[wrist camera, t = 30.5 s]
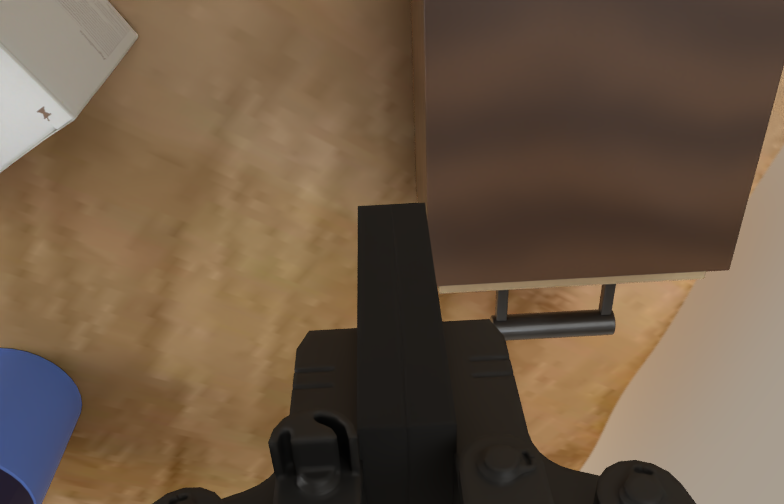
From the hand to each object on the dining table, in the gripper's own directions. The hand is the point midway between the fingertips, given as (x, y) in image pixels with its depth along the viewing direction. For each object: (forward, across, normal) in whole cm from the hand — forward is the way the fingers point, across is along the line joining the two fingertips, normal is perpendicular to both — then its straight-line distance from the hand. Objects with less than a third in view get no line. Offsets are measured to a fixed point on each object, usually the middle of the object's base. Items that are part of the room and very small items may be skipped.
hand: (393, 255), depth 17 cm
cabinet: (+24, +9, -4) cm, 26 cm away
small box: (+25, -17, -2) cm, 30 cm away
